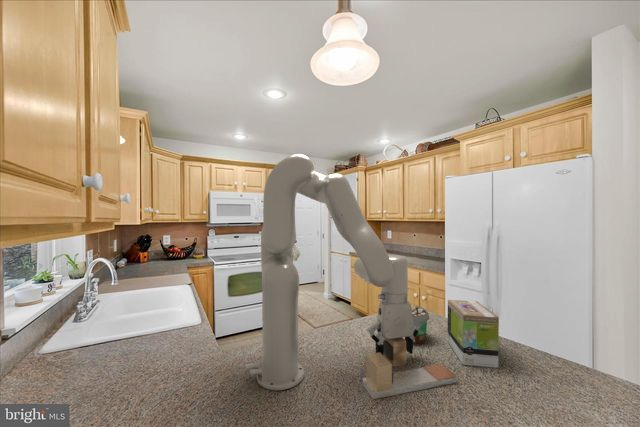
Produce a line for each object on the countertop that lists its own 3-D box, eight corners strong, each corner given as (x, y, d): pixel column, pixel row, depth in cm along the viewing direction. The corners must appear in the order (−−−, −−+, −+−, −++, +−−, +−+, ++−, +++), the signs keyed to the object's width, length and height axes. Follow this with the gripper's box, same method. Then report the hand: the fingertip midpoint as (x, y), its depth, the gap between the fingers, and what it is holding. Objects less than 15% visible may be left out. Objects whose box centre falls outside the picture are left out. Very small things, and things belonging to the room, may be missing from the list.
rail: (373, 399, 64) (372, 367, 64) (362, 383, 70) (362, 354, 70) (457, 382, 71) (457, 353, 71) (441, 369, 76) (441, 343, 76)
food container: (423, 350, 87) (423, 319, 87) (404, 344, 91) (404, 314, 91) (433, 336, 97) (433, 308, 97) (416, 331, 101) (416, 305, 101)
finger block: (392, 367, 78) (392, 342, 78) (381, 356, 84) (381, 333, 84) (406, 364, 79) (406, 340, 79) (395, 354, 85) (395, 332, 85)
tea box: (500, 368, 77) (500, 316, 77) (462, 365, 79) (462, 314, 79) (478, 343, 92) (477, 299, 92) (446, 341, 93) (446, 298, 93)
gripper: (373, 303, 76) (373, 365, 76) (427, 298, 80) (427, 356, 80) (362, 295, 83) (362, 351, 83) (412, 291, 87) (412, 344, 87)
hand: (394, 353), depth 81 cm, fingers open, 9 cm apart
